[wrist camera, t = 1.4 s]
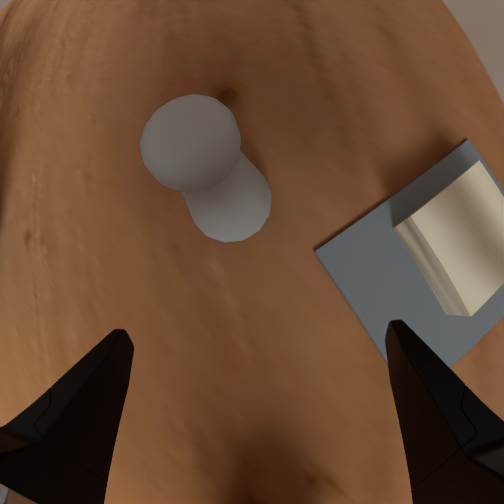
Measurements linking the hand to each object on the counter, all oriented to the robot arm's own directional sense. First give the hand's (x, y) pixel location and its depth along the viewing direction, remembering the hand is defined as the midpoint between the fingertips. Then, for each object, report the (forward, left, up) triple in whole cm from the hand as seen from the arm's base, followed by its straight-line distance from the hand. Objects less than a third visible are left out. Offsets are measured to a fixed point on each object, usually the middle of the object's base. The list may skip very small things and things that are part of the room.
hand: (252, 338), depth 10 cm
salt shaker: (+2, +8, -13) cm, 16 cm away
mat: (+14, -5, -13) cm, 20 cm away
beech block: (+15, -4, -13) cm, 20 cm away
